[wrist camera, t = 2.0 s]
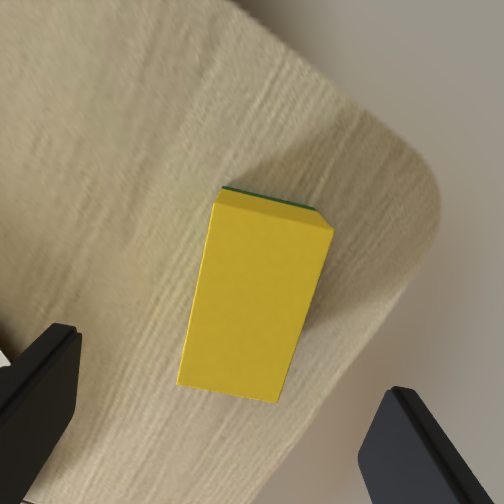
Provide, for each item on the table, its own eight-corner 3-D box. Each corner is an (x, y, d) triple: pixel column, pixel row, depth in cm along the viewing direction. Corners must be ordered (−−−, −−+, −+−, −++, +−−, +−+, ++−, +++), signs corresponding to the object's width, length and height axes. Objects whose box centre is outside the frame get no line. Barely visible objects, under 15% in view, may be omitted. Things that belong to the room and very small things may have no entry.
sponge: (222, 185, 17) (213, 201, 13) (314, 207, 18) (336, 230, 13) (191, 331, 20) (175, 385, 16) (271, 348, 20) (277, 404, 16)
